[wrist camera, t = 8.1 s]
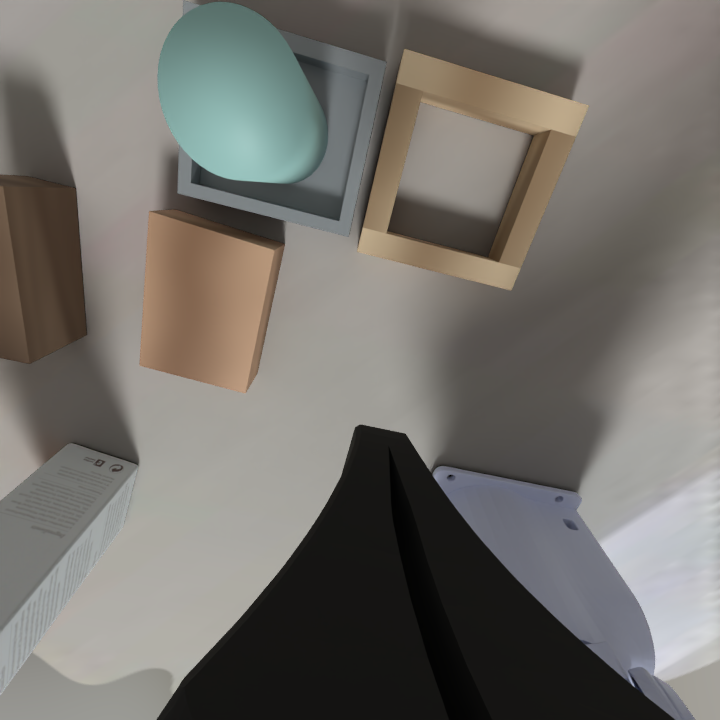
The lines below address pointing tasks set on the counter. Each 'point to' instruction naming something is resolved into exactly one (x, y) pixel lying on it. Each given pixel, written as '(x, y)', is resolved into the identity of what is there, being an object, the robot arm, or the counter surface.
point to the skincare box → (55, 542)
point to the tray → (343, 154)
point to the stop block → (39, 268)
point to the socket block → (488, 103)
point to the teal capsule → (240, 97)
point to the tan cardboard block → (206, 299)
